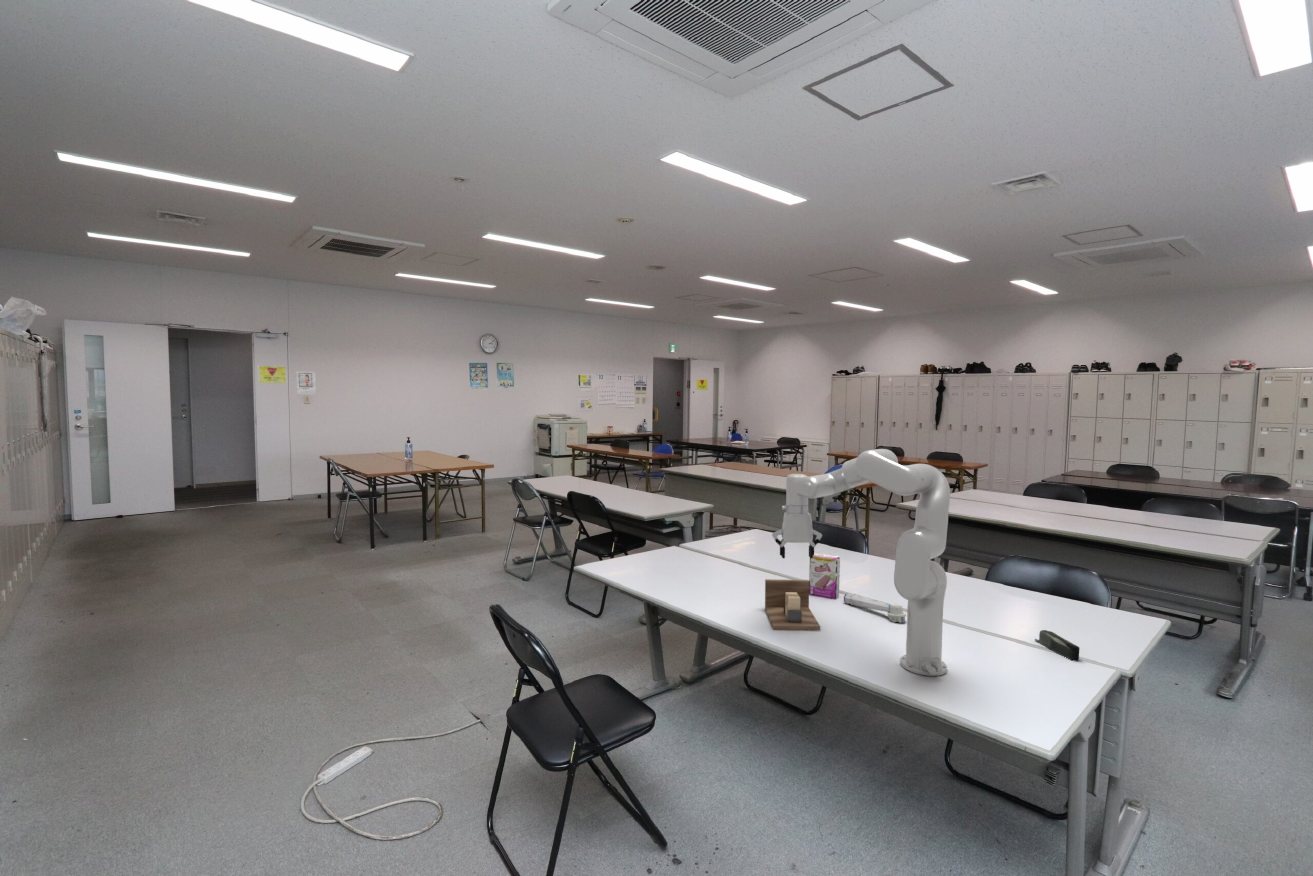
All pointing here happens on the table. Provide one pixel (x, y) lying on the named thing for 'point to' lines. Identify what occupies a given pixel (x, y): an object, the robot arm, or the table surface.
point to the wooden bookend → (776, 605)
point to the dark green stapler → (1058, 644)
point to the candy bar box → (824, 575)
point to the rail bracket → (791, 602)
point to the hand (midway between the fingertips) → (796, 557)
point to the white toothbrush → (877, 606)
